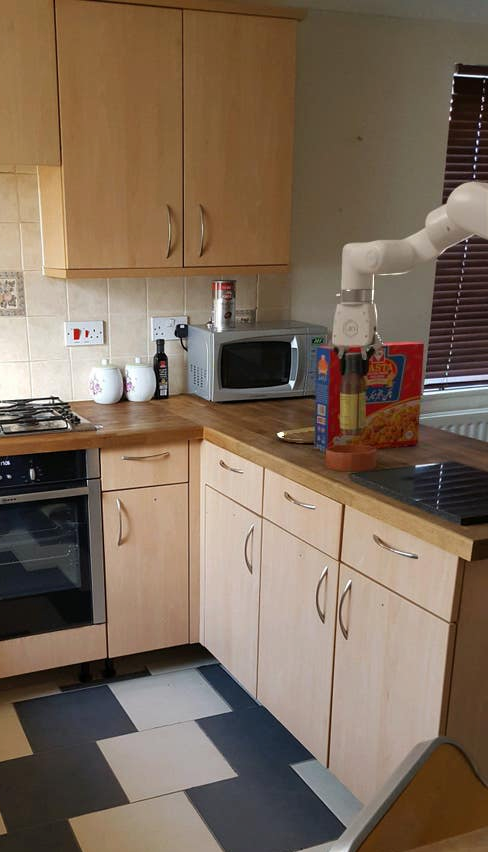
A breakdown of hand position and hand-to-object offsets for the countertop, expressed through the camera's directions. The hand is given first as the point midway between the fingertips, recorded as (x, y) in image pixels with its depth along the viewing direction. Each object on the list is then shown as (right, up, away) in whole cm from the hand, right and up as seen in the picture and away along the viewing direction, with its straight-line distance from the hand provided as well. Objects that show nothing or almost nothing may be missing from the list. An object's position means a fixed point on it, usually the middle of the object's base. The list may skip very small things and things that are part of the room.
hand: (353, 374), depth 215 cm
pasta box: (+10, -13, +31) cm, 36 cm away
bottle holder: (+1, -22, +7) cm, 23 cm away
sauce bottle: (+1, -14, +5) cm, 15 cm away
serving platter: (+4, -7, +50) cm, 50 cm away
